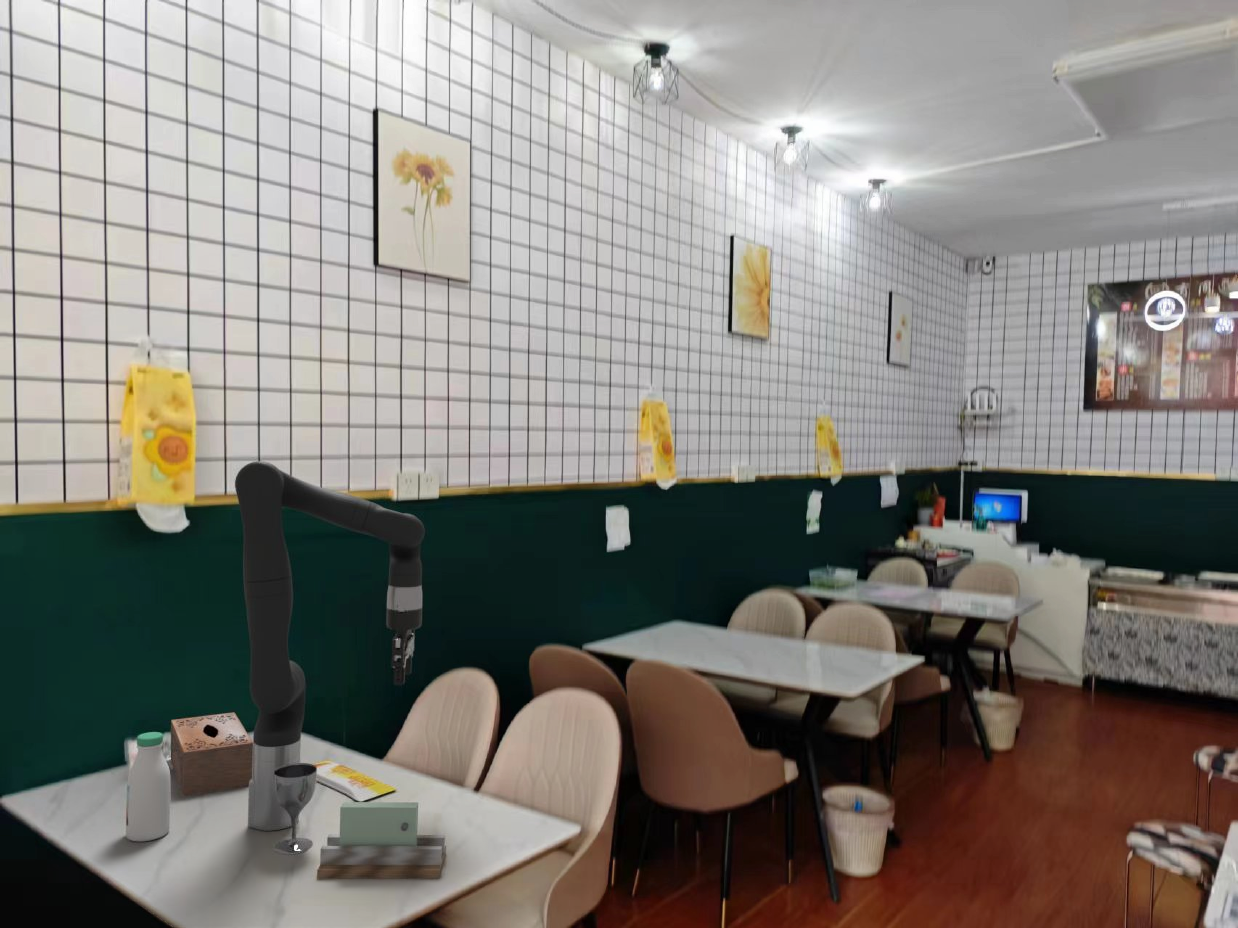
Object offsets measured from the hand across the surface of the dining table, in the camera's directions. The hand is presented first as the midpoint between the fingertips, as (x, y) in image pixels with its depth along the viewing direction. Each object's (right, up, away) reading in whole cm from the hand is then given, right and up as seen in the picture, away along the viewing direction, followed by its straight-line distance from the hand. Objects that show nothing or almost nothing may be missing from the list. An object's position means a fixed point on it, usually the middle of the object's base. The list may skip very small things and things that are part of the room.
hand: (402, 679), depth 194 cm
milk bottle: (-47, -27, -17) cm, 57 cm away
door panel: (+2, -27, -26) cm, 38 cm away
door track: (+3, -29, -26) cm, 39 cm away
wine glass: (-17, -28, -20) cm, 38 cm away
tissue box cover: (-50, -27, +17) cm, 59 cm away
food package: (-17, -28, +14) cm, 36 cm away
